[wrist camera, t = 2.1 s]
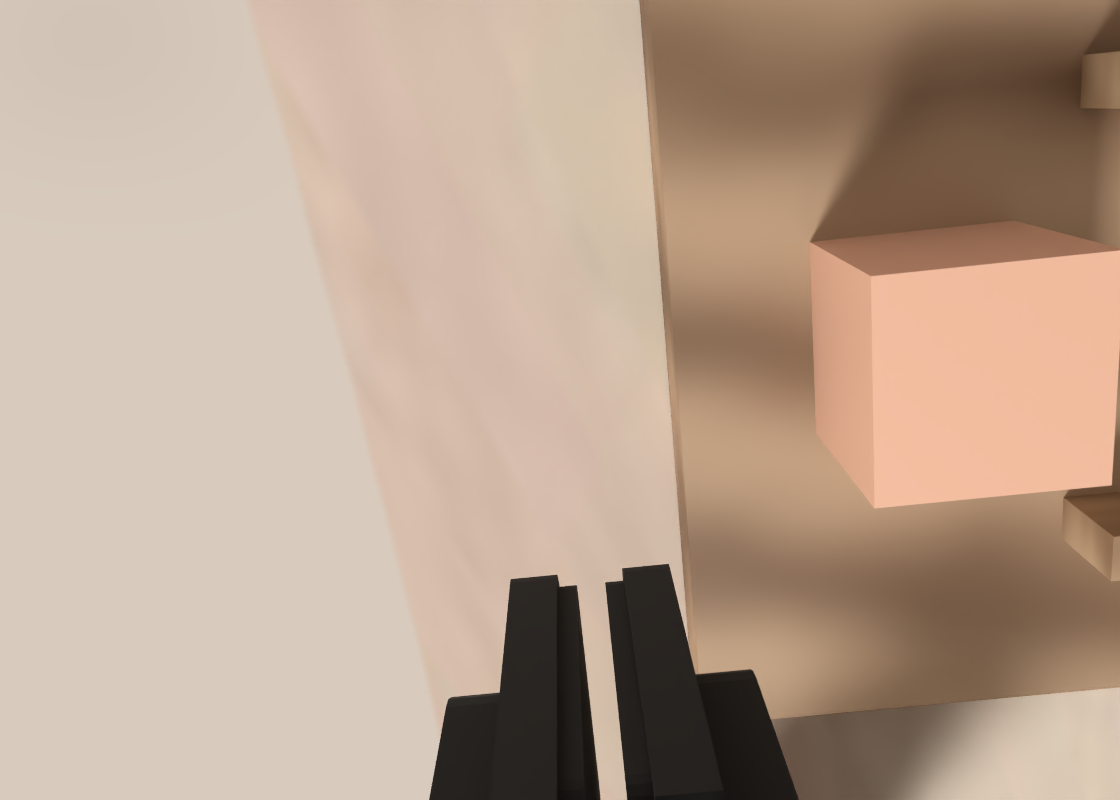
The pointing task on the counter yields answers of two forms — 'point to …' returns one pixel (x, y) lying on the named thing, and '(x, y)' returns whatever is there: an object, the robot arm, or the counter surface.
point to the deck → (787, 336)
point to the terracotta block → (966, 361)
